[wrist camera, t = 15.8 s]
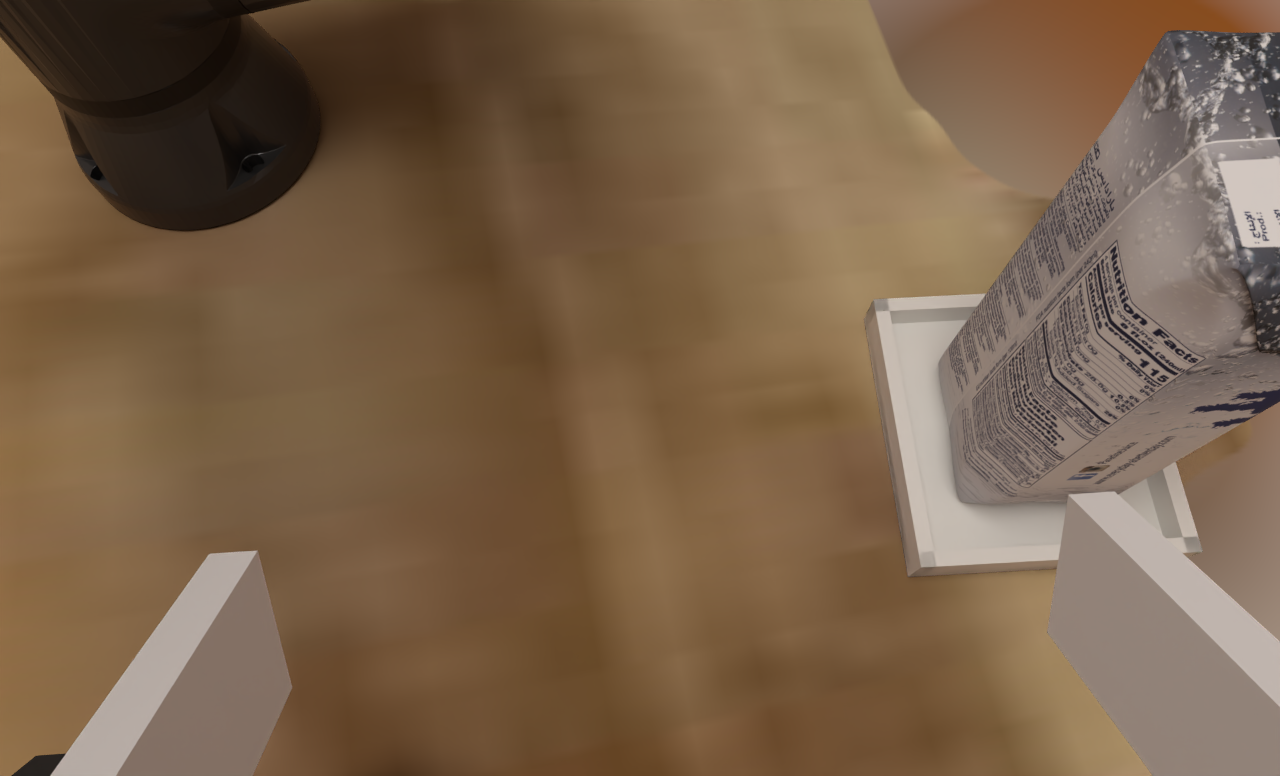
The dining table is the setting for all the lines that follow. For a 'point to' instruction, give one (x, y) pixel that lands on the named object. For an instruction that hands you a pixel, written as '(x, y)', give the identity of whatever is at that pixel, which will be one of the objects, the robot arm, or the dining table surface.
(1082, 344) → the juice carton
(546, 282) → the dining table surface
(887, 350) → the carton tray
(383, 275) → the dining table surface
